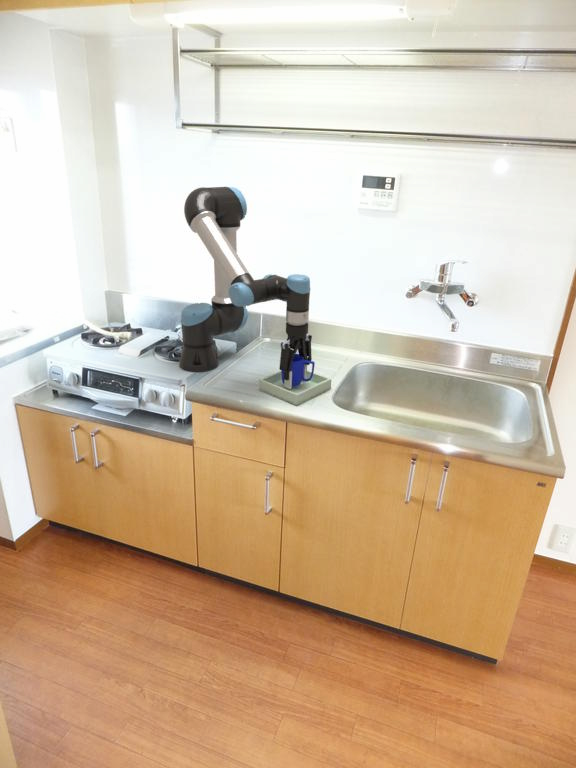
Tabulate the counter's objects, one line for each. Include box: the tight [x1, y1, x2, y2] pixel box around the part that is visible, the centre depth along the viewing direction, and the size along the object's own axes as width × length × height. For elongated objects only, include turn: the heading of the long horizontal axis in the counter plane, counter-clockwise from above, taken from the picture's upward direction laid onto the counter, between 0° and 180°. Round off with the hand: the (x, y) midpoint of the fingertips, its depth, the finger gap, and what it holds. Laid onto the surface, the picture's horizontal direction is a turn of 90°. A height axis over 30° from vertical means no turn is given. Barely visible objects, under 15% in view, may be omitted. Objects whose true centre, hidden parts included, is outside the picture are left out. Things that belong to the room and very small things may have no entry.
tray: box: [258, 369, 332, 407], centre depth 178 cm, size 18×19×4 cm
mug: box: [280, 352, 316, 386], centre depth 177 cm, size 8×12×10 cm
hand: (295, 384), depth 178 cm, fingers closed on mug, 7 cm apart
